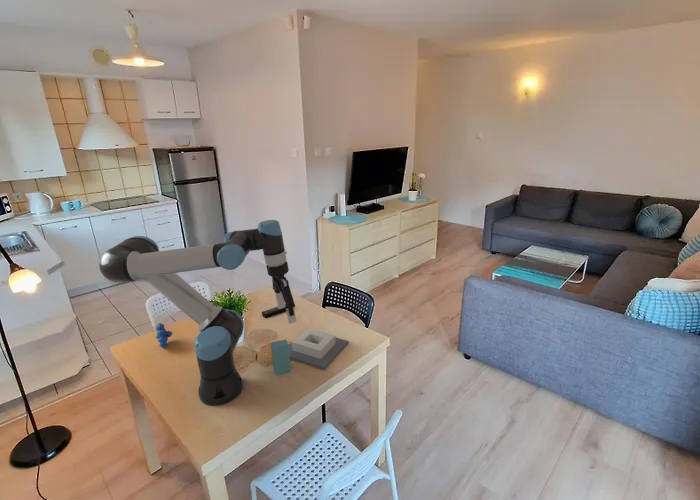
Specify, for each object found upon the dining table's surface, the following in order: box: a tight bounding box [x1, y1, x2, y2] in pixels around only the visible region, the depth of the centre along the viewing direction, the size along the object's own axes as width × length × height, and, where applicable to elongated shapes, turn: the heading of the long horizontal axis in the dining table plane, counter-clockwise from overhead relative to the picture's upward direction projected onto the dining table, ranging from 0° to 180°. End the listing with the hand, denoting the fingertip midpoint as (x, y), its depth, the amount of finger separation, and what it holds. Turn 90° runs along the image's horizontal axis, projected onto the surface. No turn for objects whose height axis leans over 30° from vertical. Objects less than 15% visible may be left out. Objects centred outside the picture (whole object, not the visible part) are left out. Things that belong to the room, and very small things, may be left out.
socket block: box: [288, 327, 349, 371], centre depth 156 cm, size 20×22×5 cm
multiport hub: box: [261, 304, 287, 319], centre depth 188 cm, size 4×14×2 cm, turn 126°
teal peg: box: [270, 338, 292, 376], centre depth 142 cm, size 4×6×12 cm, turn 112°
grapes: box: [155, 322, 173, 349], centre depth 160 cm, size 12×7×12 cm, turn 28°
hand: (287, 314), depth 140 cm, fingers open, 13 cm apart
